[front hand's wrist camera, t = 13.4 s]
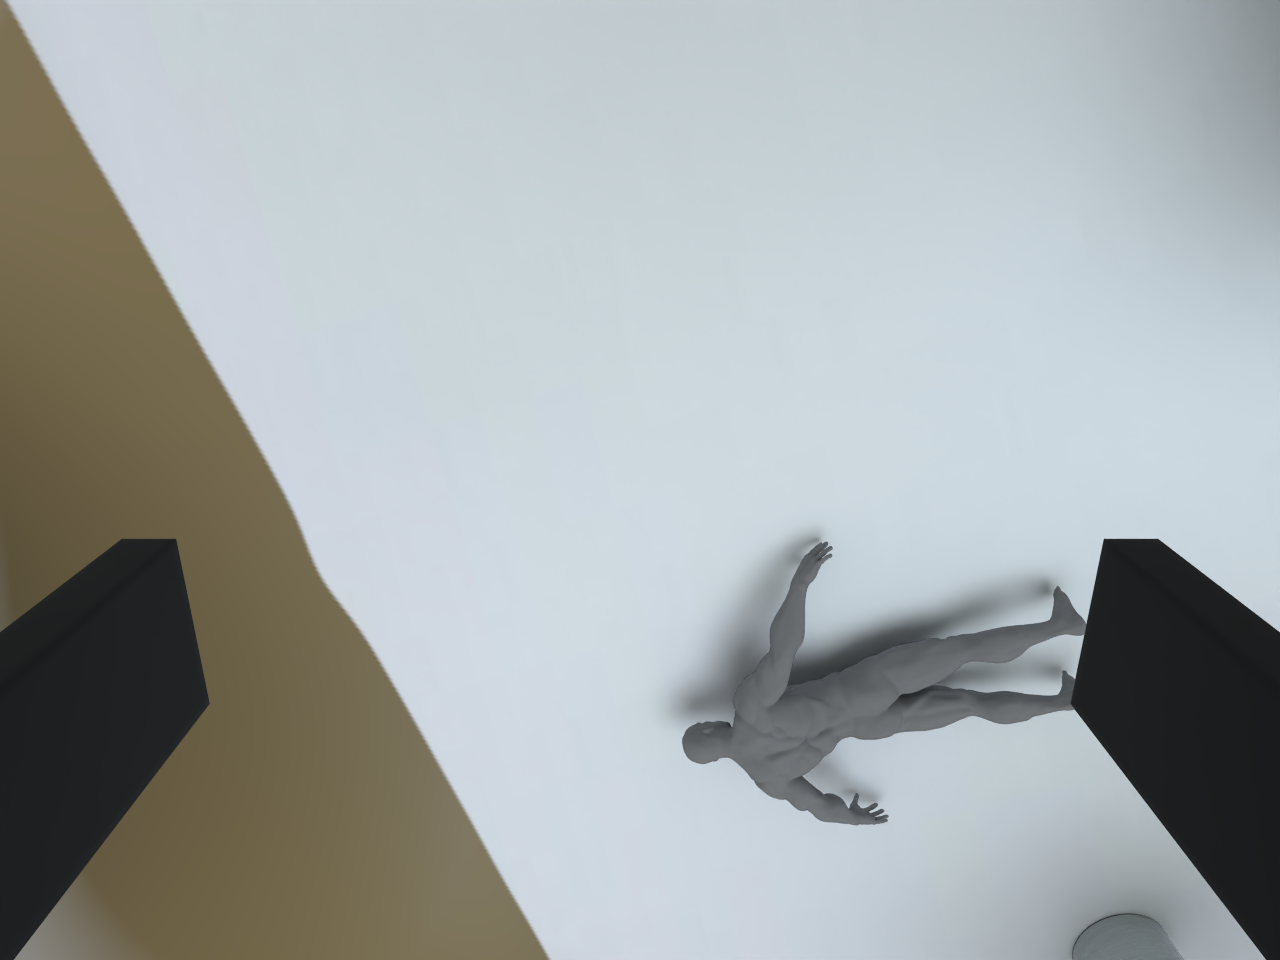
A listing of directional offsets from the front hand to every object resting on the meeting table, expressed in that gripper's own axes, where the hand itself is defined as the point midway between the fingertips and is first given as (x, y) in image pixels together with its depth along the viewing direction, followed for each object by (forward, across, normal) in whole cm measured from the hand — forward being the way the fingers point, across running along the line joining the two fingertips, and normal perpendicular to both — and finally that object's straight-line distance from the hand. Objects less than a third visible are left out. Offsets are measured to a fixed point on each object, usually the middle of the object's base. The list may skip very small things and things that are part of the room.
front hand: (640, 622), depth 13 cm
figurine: (+28, +12, -19) cm, 36 cm away
